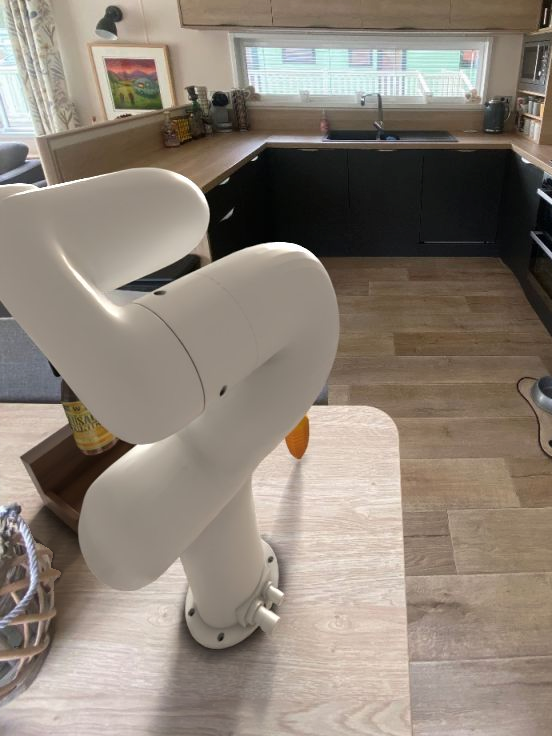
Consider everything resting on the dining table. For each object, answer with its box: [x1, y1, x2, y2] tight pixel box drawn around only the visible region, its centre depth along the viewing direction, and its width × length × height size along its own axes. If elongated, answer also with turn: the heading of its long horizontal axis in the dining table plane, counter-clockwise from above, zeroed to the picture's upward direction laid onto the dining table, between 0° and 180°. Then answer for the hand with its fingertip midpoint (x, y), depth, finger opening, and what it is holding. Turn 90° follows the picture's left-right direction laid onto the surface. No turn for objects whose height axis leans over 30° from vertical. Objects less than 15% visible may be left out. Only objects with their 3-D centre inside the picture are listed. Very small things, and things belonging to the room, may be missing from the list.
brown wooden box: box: [19, 422, 137, 534], centre depth 69 cm, size 12×16×12 cm
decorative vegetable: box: [284, 412, 310, 460], centre depth 72 cm, size 5×5×15 cm
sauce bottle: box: [60, 377, 119, 455], centre depth 62 cm, size 7×6×20 cm
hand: (76, 375), depth 60 cm, fingers closed on sauce bottle, 4 cm apart
